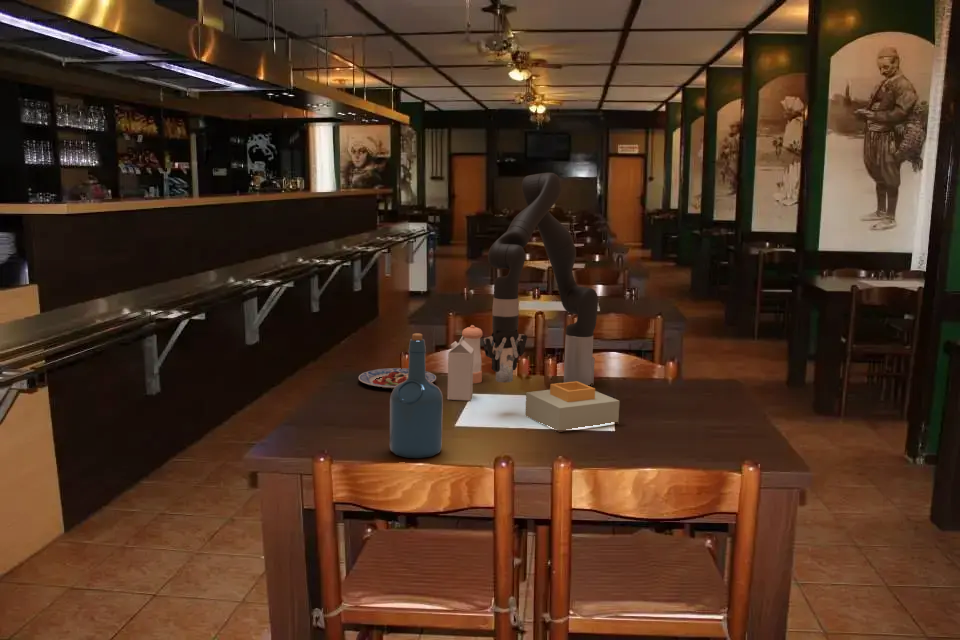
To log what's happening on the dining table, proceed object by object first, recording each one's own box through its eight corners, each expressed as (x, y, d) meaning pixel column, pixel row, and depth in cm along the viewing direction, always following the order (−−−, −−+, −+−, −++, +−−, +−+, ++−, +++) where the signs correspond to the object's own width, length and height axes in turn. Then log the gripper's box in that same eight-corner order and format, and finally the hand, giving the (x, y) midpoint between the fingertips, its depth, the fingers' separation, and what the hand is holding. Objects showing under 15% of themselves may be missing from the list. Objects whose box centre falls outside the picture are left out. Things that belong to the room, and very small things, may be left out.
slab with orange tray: (580, 407, 253) (582, 375, 251) (618, 424, 237) (620, 390, 235) (523, 414, 244) (525, 381, 242) (558, 432, 227) (560, 397, 226)
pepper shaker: (471, 377, 287) (473, 322, 284) (486, 381, 282) (487, 325, 279) (456, 380, 283) (457, 324, 279) (470, 384, 277) (471, 328, 274)
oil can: (492, 379, 245) (493, 345, 243) (507, 377, 247) (508, 344, 245) (504, 384, 238) (505, 350, 236) (519, 383, 241) (520, 349, 239)
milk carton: (472, 395, 264) (474, 336, 261) (470, 401, 257) (471, 340, 254) (450, 394, 265) (451, 335, 261) (447, 400, 258) (448, 339, 254)
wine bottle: (401, 440, 217) (402, 327, 212) (449, 446, 214) (451, 331, 209) (380, 456, 204) (380, 336, 199) (431, 463, 201) (433, 341, 196)
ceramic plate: (385, 371, 295) (385, 362, 294) (449, 380, 283) (450, 371, 283) (342, 386, 272) (342, 377, 271) (410, 397, 261) (410, 388, 260)
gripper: (520, 309, 246) (519, 365, 250) (477, 312, 240) (476, 370, 243) (533, 313, 240) (532, 371, 243) (489, 317, 233) (488, 376, 236)
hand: (504, 370), depth 243 cm, fingers closed on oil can, 5 cm apart
